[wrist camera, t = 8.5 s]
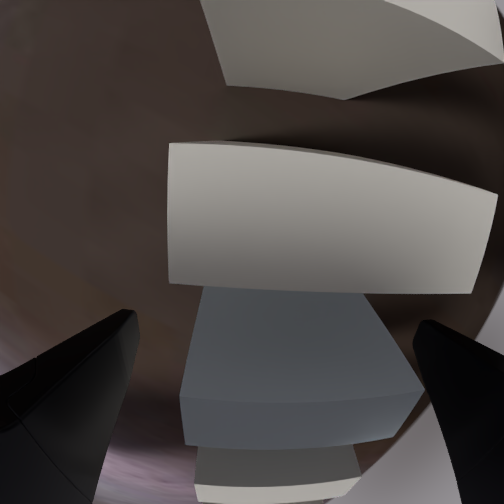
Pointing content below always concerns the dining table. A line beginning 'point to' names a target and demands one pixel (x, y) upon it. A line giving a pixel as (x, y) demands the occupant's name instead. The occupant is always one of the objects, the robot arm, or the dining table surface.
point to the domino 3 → (292, 372)
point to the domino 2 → (319, 222)
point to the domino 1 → (349, 42)
